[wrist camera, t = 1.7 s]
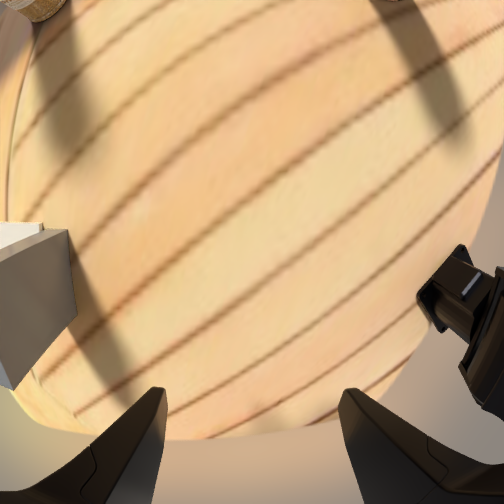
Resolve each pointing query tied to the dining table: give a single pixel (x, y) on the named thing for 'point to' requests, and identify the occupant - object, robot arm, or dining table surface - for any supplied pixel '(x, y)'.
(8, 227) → the plate
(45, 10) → the sprinkles bottle
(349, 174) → the dining table surface
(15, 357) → the slate tile
